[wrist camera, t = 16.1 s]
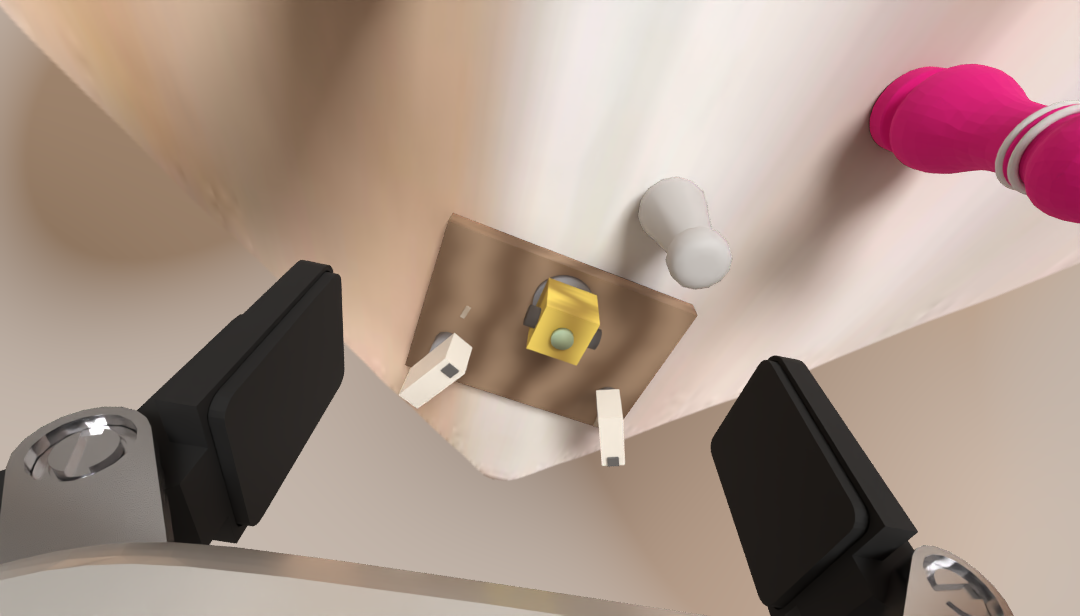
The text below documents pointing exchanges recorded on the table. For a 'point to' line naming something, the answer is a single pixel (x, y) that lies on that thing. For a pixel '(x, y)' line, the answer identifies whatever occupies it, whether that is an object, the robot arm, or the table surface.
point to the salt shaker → (685, 232)
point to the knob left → (436, 369)
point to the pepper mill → (983, 132)
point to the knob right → (610, 426)
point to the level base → (506, 336)
